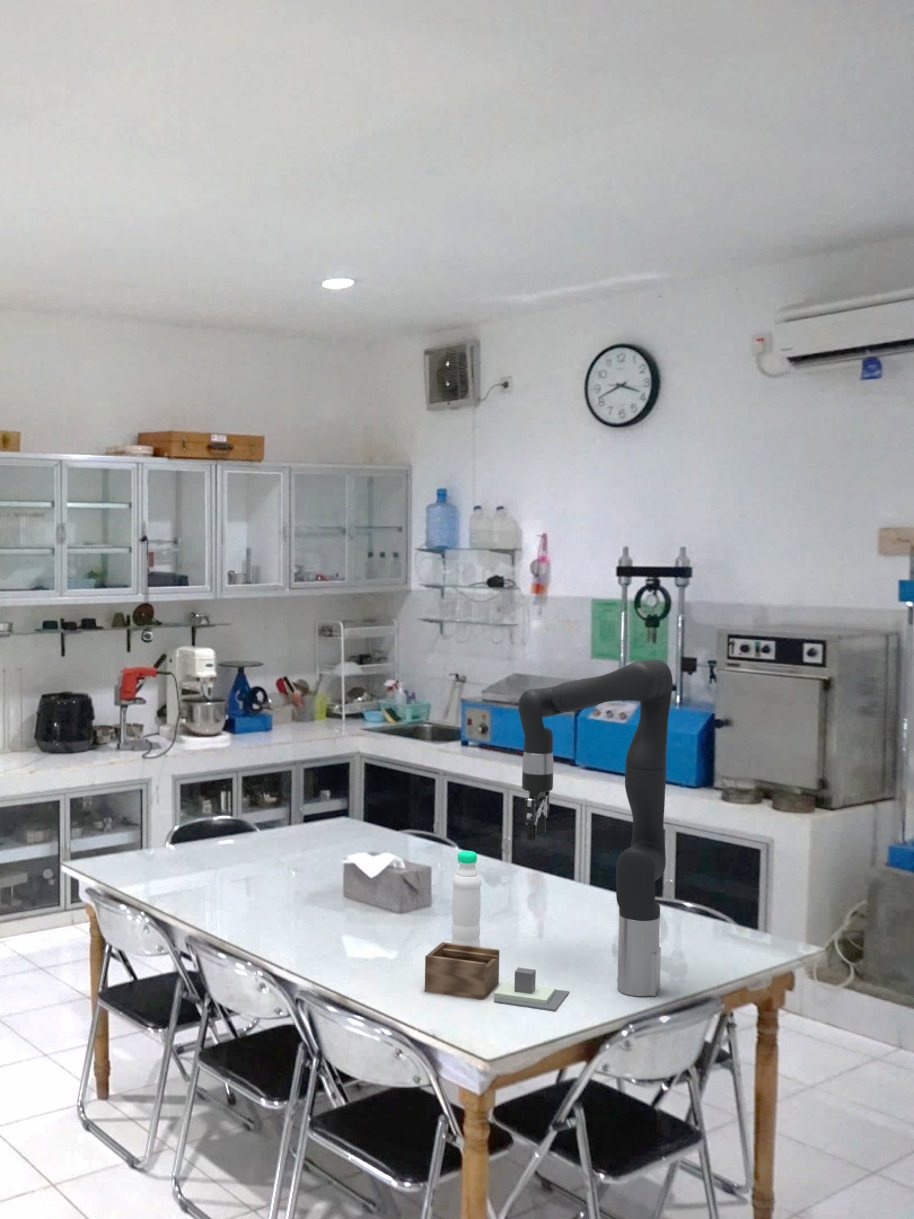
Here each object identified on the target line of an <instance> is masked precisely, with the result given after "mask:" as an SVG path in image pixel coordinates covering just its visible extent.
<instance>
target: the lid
mask: <svg viewBox="0 0 914 1219" xmlns="http://www.w3.org/2000/svg"><path fill="white" fill-rule="evenodd" d="M536 972H537V971H536V969H534V968H526V967H525V968H524V967H517V968H516V969H515V971H514V982H513V981H505V980H504V981H503V982H502V983H501V984H500V986H498V987H497V989H495V991H494V992H493V998H494V999H496V998H502V999H509V1000H516V1001H523V1002H530V1003H537V1004H544V1005H546V1004H547V1003H548V1002H549V1000H550V999H551V998H552V996H553V995H554V994H555V989H556V988H555V987H549V986H543V985H542V986H541V985H536V976H537V975H536Z"/></svg>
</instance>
